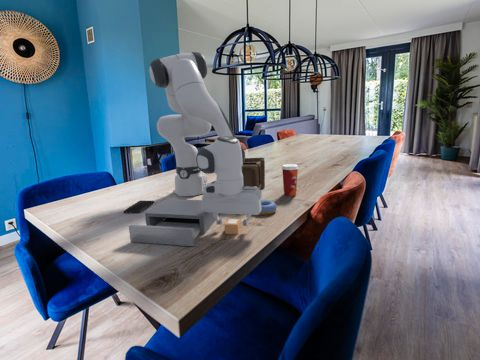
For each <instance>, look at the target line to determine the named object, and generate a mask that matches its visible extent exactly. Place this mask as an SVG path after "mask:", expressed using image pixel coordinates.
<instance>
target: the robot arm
mask: <svg viewBox="0 0 480 360" xmlns="http://www.w3.org/2000/svg"><path fill="white" fill-rule="evenodd" d="M207 63H208V62H207V60H206V58H205V55H203V54H202V53H201V52H200V51H199V52H197V51H192V52H186V53H185V52H184V53H177V54H173V55H169V56H165V57H161V58H156V59H153V60H151V62H150V63H149V69H148V71H149V77H150V79H151V81H152V83H154V85H155V87H158V88H161V89H164V90H165V96H166V100H167V105H168V107H169V108H170V110H172V111H173V112H175V113H176V114H168V115H167V114H166V115H163V116H160V117H159V118H158V120H157V122H156V129H157V132H158V135H160V137H162V138H163V139H165V140H167V142H168V143H169V144H170V145H171V146H172V149H173V152H174V156H175V157H174V158H175V163H176V166H175V172H176V175H175V177H174V189H173V190H172V192H173V193H175V195H177V196H179V197H195V196H199V195H202V197H201V200H202V210H203V211H204V212H207V213H213V217H214V218H215V220H216V221H215V222H216V225H218V226H219V225H220V226H222V225H223V219H222V218H221V217H220V215H219V216H218V215H217V214H218V213H219V214H228V215H229V214H232V215H245V217H246V219H243V221H242V226H243V227H248V226H249V220H250V218H251V216H252V215H254V216H255V215H256V216H258V215H259V213H260V212H261V209H262V207H261V199H262V190H261V188H260V189H259V188H257V187H249V186H244V184H243V174H242V165H243V163H244V161H245V158H246V152H245V149H244V147H243V146H242V144H241V142H240V140H239V139H238V138H237V136H236V134H235V132H234V131H233V128H232V127H231V124H230V123H229V120H228V119H227V117H226V114H225V112H224V110H223V109H222V107H221V105H220V104H219V103H217V102H216V101H215V100H214V99H213V97H212V96H211V95H210V93H209V90H208V89H207V87H206V84H205V81H204V79H205V78H206V77H207V75H208V64H207ZM212 127H213V129H214V130H215V133H216V135H217V138H215V140H214V142H212V143H211V144H209V145H206V146H203V147H200V148H199V149H198V148H197V147H196V146H194V145H193V144H191V143H189V142H186V139H185V138H194V137H203V136H206V135H208V134H209V133H211V130H212ZM206 174H208V175H211V174H215V175H216V180H214V181H210V182H208V177H207V175H206ZM257 189H258V190H257Z"/></svg>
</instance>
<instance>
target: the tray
mask: <svg viewBox="0 0 480 360" xmlns="http://www.w3.org/2000/svg"><path fill="white" fill-rule="evenodd" d="M128 234H129V239H130V242H132V243H145V244H157V245H158V244H160V245H171V246H185V247H195V245H196V243H195V239H196V238H197V237H198V235H199V234H201V233H200V223H190V222H189V223H188V222H174V221H173V222H171V221H162V222H159V223H157V224H156V225H155V226H148V225H146V224H129V225H128Z"/></svg>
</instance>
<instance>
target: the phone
mask: <svg viewBox="0 0 480 360" xmlns="http://www.w3.org/2000/svg"><path fill="white" fill-rule="evenodd" d="M153 203H154V204H155V200H138V201H137V202H135V203H134V204H131V205H130V206H129V207H128V208H125V209H124V210H123V212H122V213H123V214H128V215H129V214H130V215H132V214H133V215H135V214H136V215H137V214H138V215H139V214H142V213H144V211H146V210H147V209H148V208H149V207H151V206H152V205H154V204H153Z"/></svg>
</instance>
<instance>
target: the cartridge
mask: <svg viewBox="0 0 480 360" xmlns="http://www.w3.org/2000/svg"><path fill="white" fill-rule="evenodd" d="M241 224H242V222H241V219H240V218H227V220H226V221H225V223H224V234H226V235H227V234H228V235H239V233H240V231H241V230H242V225H241Z"/></svg>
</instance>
